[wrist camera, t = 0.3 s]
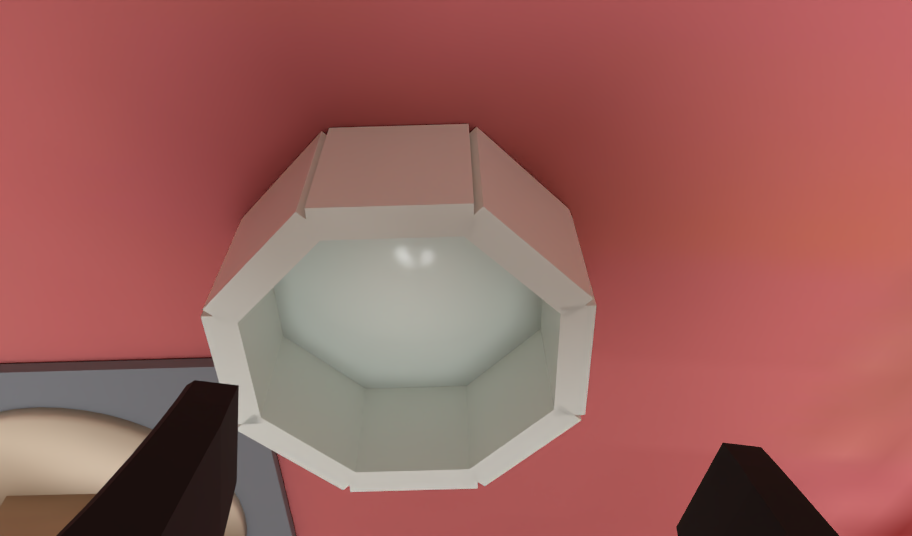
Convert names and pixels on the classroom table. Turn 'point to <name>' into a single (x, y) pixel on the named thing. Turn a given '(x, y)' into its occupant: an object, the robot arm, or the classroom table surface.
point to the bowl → (404, 311)
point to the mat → (150, 417)
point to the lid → (65, 467)
